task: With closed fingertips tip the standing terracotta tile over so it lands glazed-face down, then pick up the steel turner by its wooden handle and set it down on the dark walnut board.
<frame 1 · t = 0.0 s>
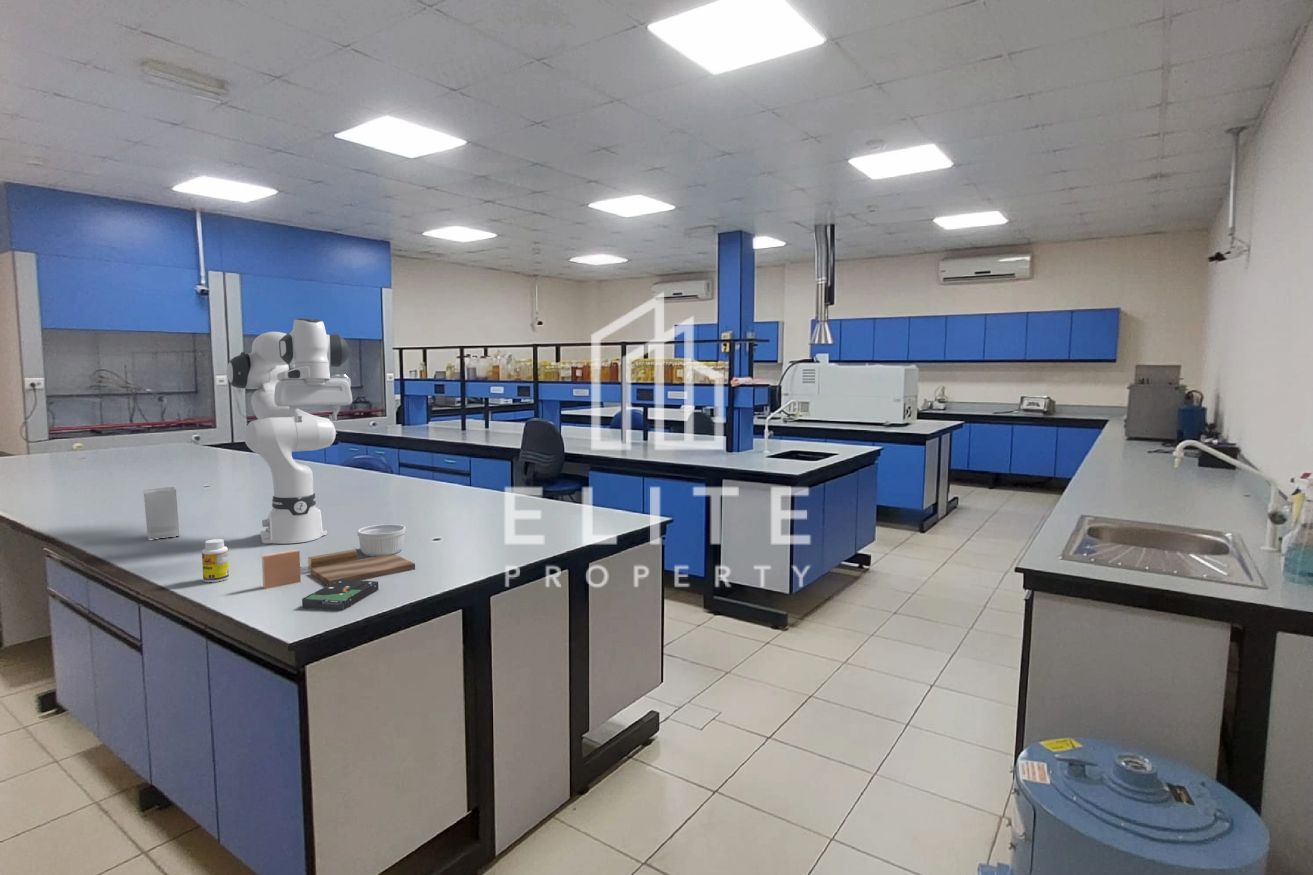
hand: (316, 421, 191), 39 cm above the counter, tool pointing down, fingers open, 8 cm apart
disk drive: (342, 601, 156), on the counter
supplement bottle: (216, 580, 169), on the counter
skincare box: (163, 537, 211), on the counter
tile: (282, 584, 166), on the counter
ramekin: (382, 552, 198), on the counter
board: (363, 571, 177), on the counter
turner: (333, 566, 182), on the counter
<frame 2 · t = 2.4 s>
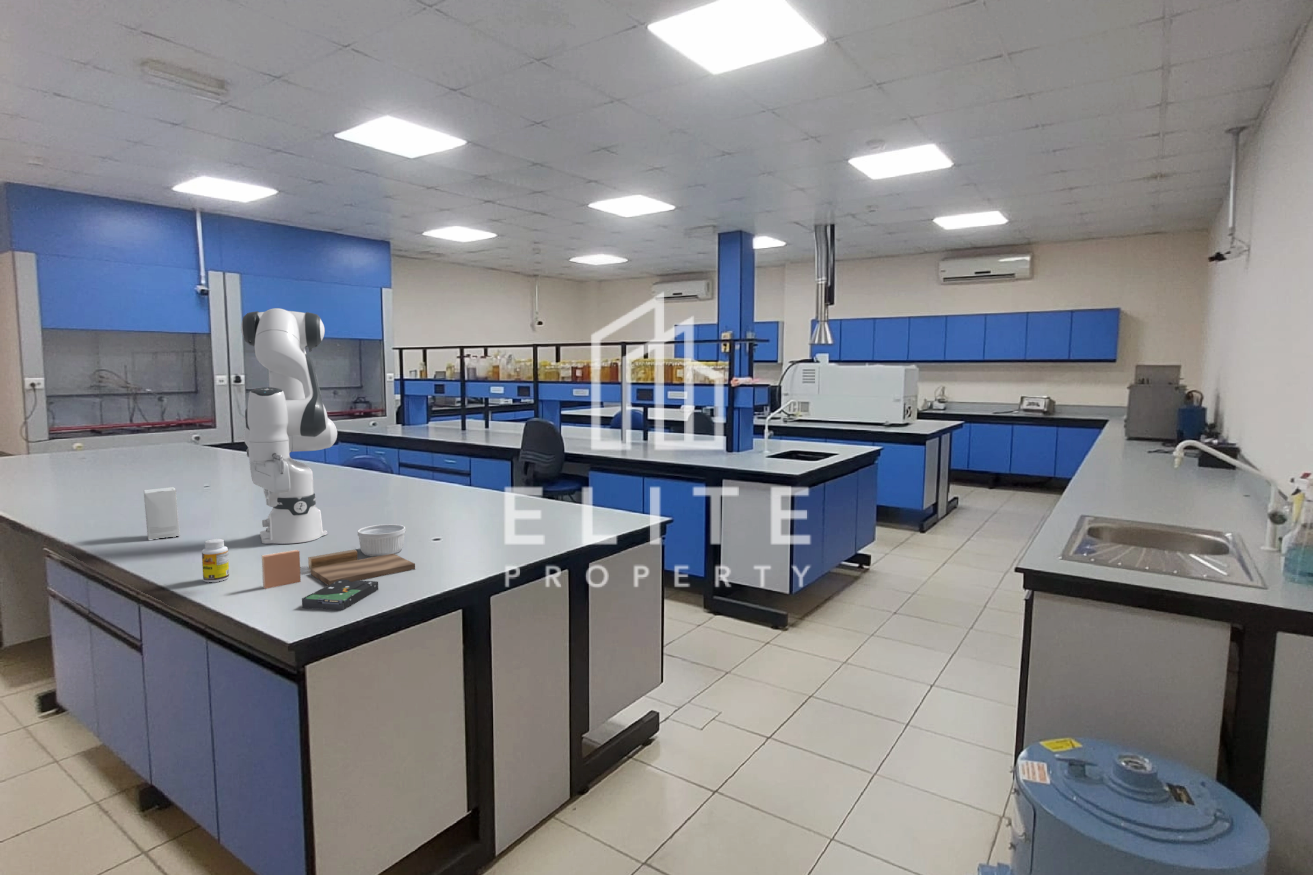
hand: (271, 505, 169), 19 cm above the counter, tool pointing down, fingers closed
nothing on the counter moved.
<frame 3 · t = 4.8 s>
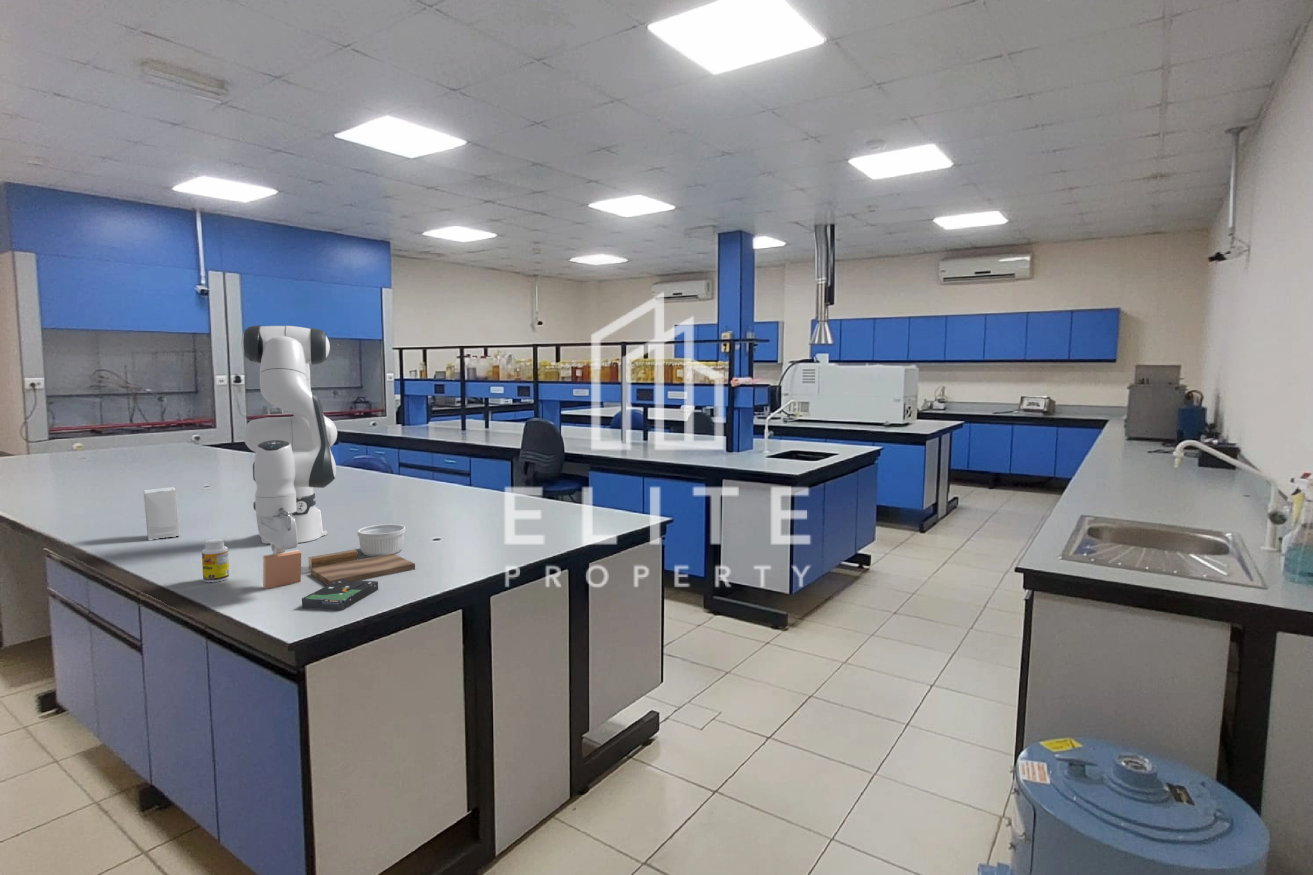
hand: (278, 560, 167), 6 cm above the counter, tool pointing down, fingers closed
tile: (282, 583, 166), on the counter, tilted 11°
everything else where it was.
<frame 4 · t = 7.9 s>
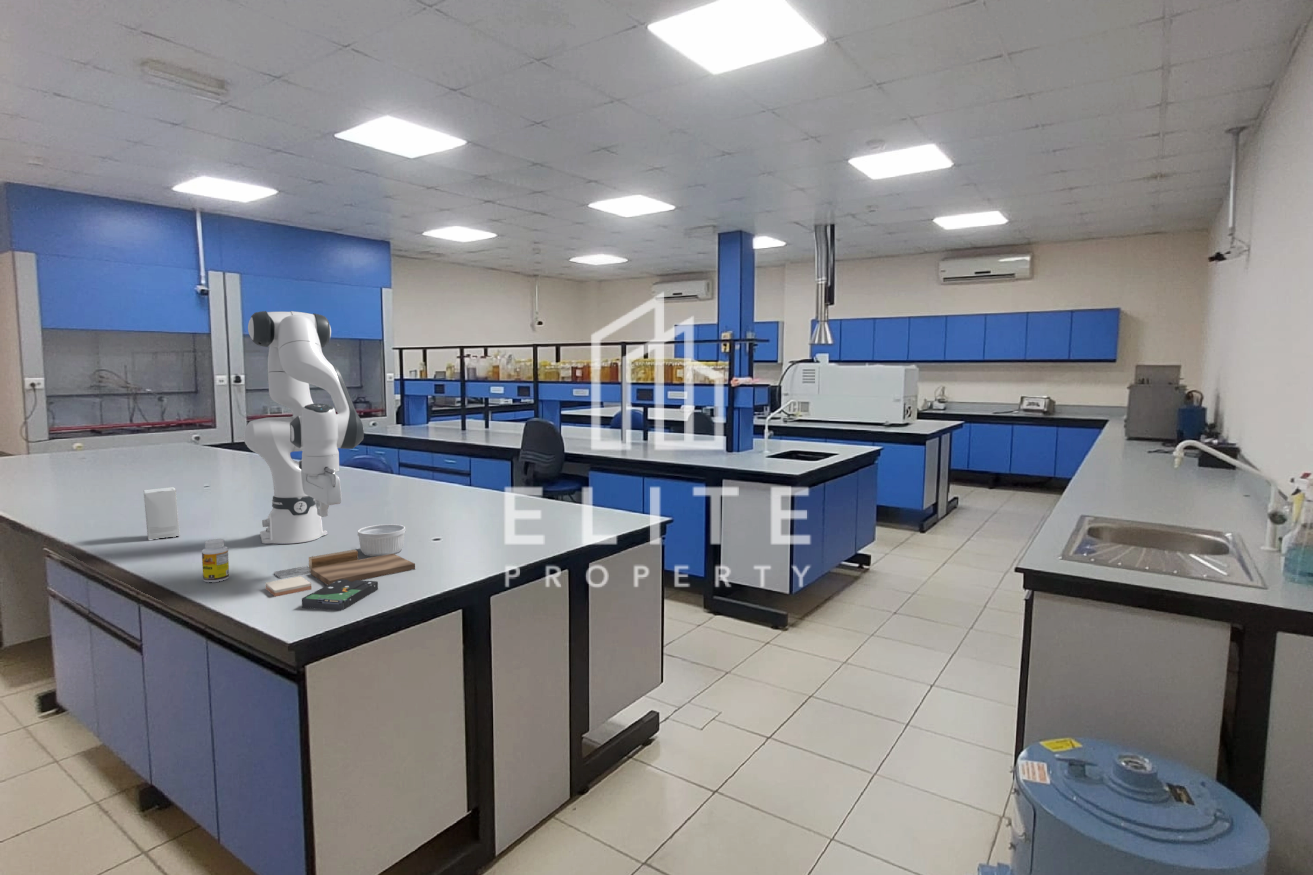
hand: (322, 515, 178), 15 cm above the counter, tool pointing down, fingers closed
tile: (283, 583, 165), on the counter, tilted 90°
everything else where it was.
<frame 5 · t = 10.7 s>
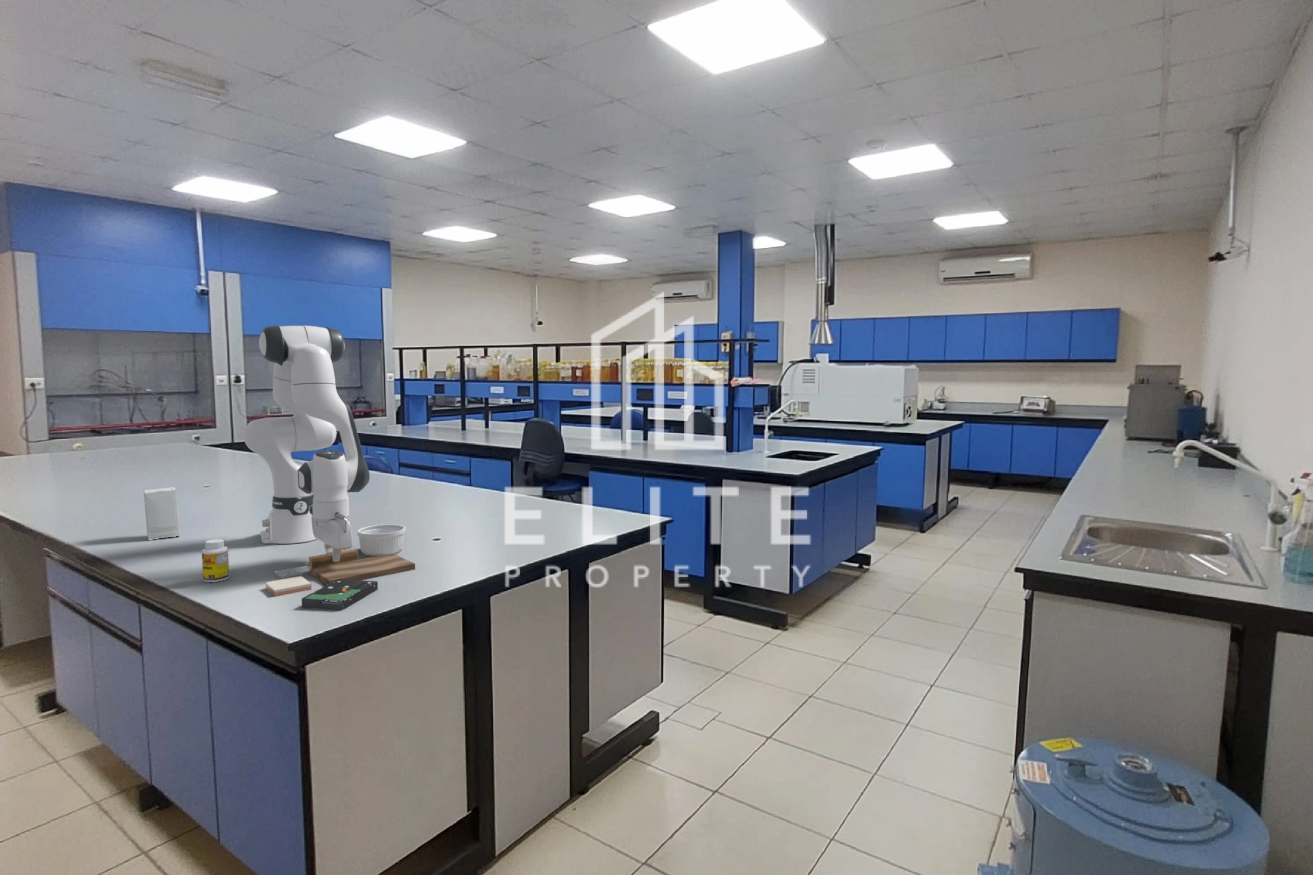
hand: (333, 559, 182), 2 cm above the counter, tool pointing down, fingers closed on turner, 2 cm apart
turner: (334, 565, 182), on the counter, touching gripper
everything else where it was.
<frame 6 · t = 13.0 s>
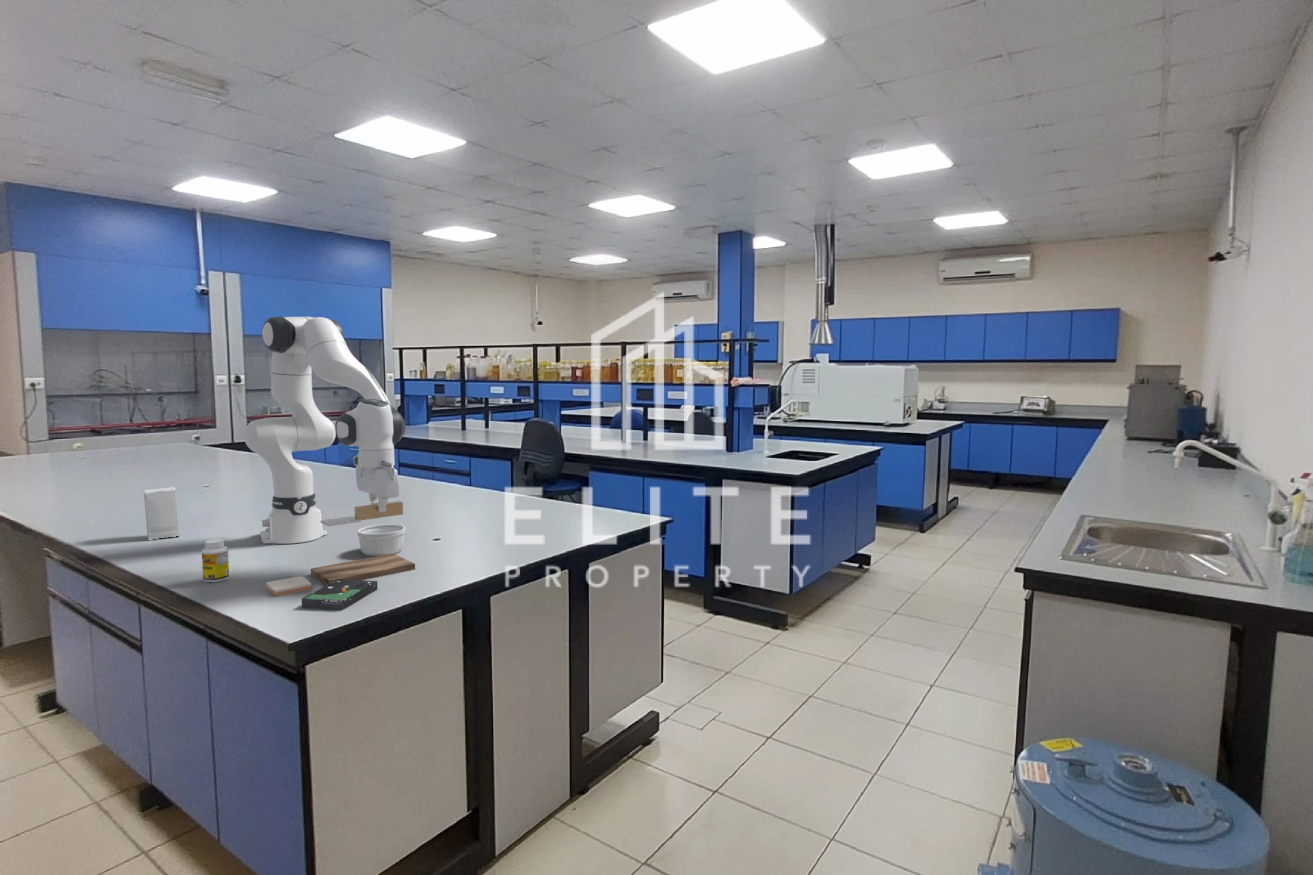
hand: (378, 510, 179), 16 cm above the counter, tool pointing down, fingers closed on turner, 2 cm apart
turner: (379, 516, 179), point 14 cm above the counter, touching gripper
everything else where it was.
when the fingers open (5 cm above the counter, at t = 15.3 s): turner drops 1 cm, resting on board.
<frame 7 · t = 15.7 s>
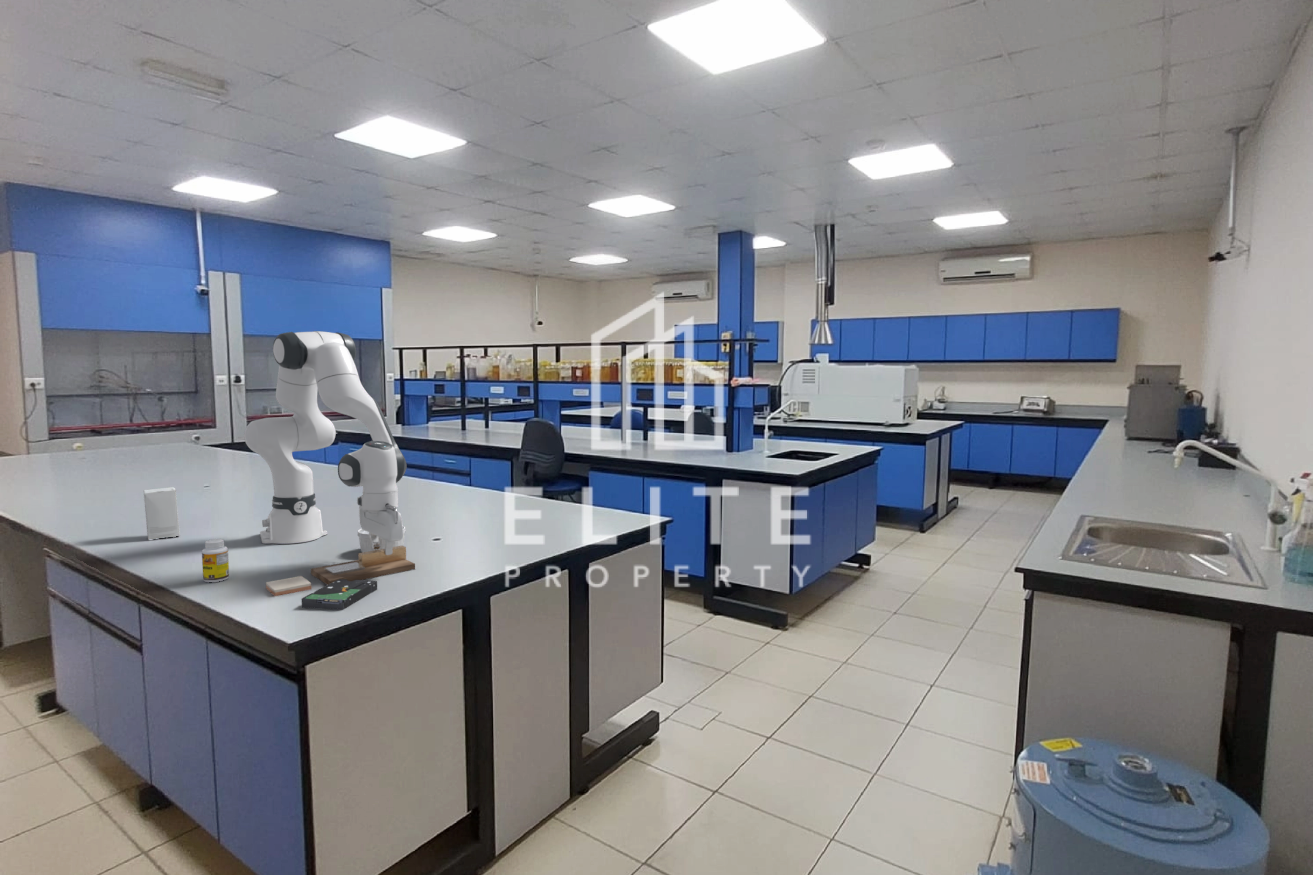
hand: (381, 551, 180), 5 cm above the counter, tool pointing down, fingers open, 7 cm apart
turner: (382, 562, 181), point 1 cm above the counter, touching board
everything else where it was.
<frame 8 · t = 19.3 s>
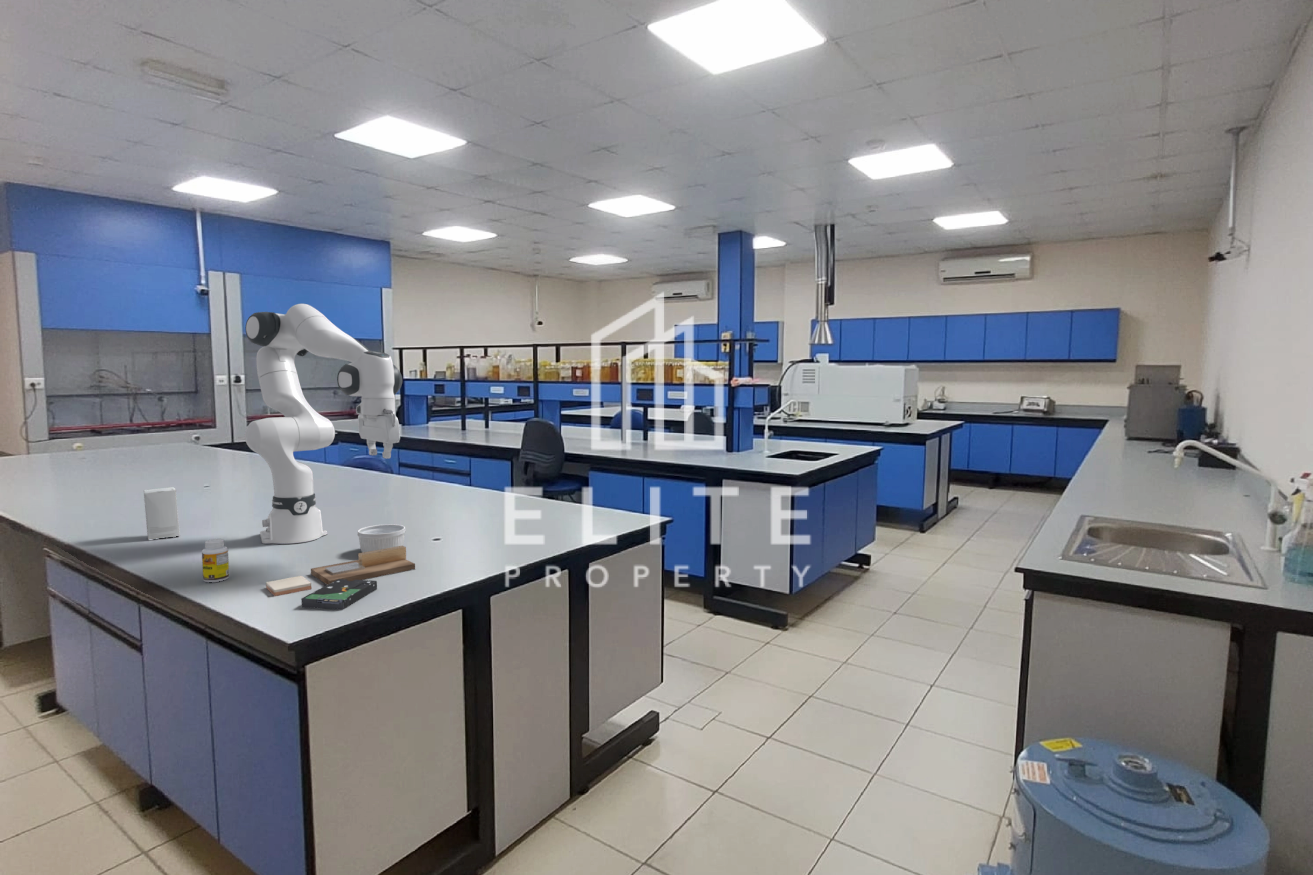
hand: (379, 456, 190), 29 cm above the counter, tool pointing down, fingers open, 8 cm apart
nothing on the counter moved.
at the end: tile tilted 90°; turner inside the target area on the board (4.2 cm from its centre), point 1.5 cm above the board's base; the gripper is holding nothing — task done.
